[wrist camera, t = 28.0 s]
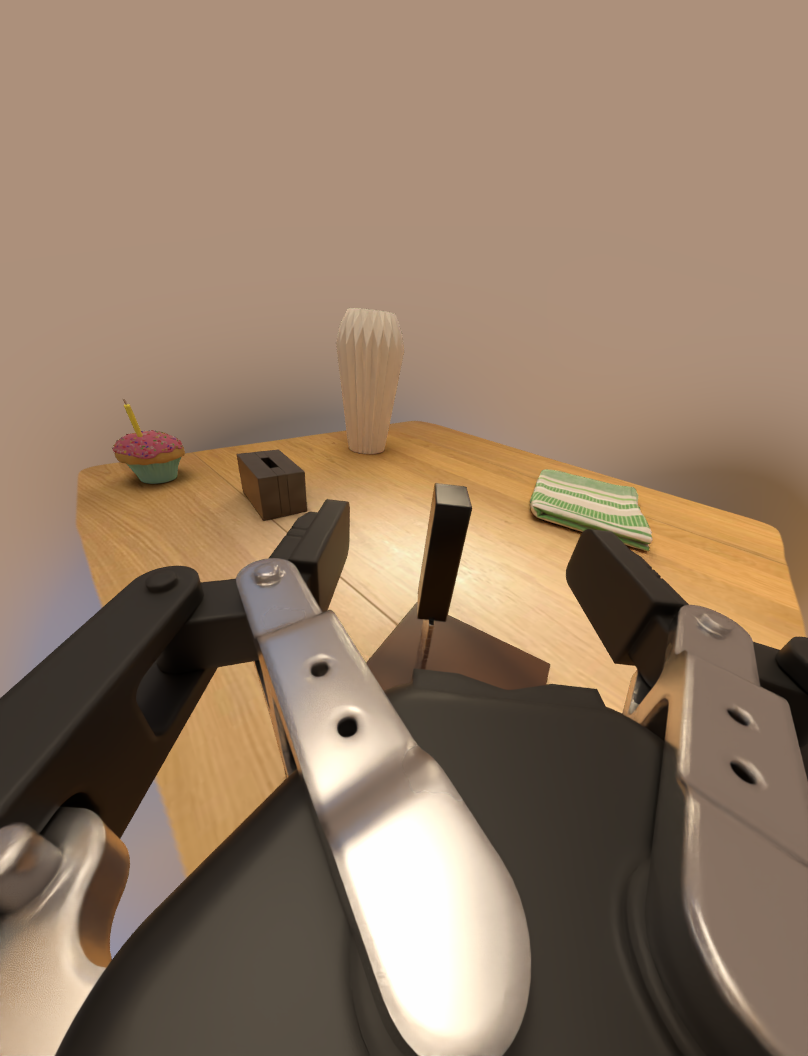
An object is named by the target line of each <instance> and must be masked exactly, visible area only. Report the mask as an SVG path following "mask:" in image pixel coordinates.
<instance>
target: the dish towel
mask: <svg viewBox="0 0 808 1056" xmlns="http://www.w3.org/2000/svg"><path fill="white" fill-rule="evenodd" d="M530 505H531V511H532V512H533V514H534V515H535V516H536V517H537V518H540V519H543V520H546V521H549V522H552V523H555V524H559V525H562V526H565V527H568V528H571V529H574V530H578V531H581V532H583V531H584V530H586V529H593V530H602V531H611V532H613V533H614V534H615V535H616V536H617V537H618V538H619V539H620V540H621V541H622V542H623V543H624V544H625V545H627V546H630V547H634V548H638V549H641V550H645V551H649V546H648V544H651V542H652V536H651V533H652V532H651V530H650V528H649V525H648V523H647V521H646V519H645V517H644V516H643V514H642V513H641V512H640V507H639V506H638V494H637V492H636V489H635V488H634V487H627V486H619V485H613V484H609V483H605V482H601V481H597V480H594V479H589V478H585V477H581V476H576V475H572V474H568V473H565V472H561V471H555V470H548V469H546V470H543V471H541V474H540V476H539V478H538V480H537V483H536V486H535V489H534V492H533V494H532V496H531V500H530Z"/></svg>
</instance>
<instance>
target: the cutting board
mask: <svg viewBox="0 0 808 1056" xmlns="http://www.w3.org/2000/svg"><path fill="white" fill-rule="evenodd" d="M417 606H418V602H417V603H416V604H415V605H414V606H413V608H412V609H411V610H410V611H409V612H408V614H407V615H406V616H405V617H404V618H403V620H402V621H401V622H400V623H399V624H398V625H397V627H396V628H395V629H394V630H393V631H392V633H391V634H390V635H389V636H388V637H387V639H386V640H385V641H384V642H383V643H382V645H381V646H380V647H379V648H378V649H377V651H376V652H375V653H374V654H373V655H372V657H371V658H370V659H369V660H368V661H367V663H366V664H367V666H368V667H369V669H370V670H371V672H372V674H373V675H374V677H375V678H376V680H377V682H378V683H379V685H380V686H381V688H382V690H383V691H384V690H386V689H389V688H391V687H394V686H398V685H402V684H407V683H411V679H412V673H413V668H415V662H416V657H417V651H418V645H419V640H420V634H421V629H422V623H423V620H422V619H418V618H417ZM549 668H550V664H549V663H547V662H545V661H543V660H541V659H539V658H537V657H534V656H532V655H530V654H528V653H526V652H524V651H522V650H520V649H518V648H516V647H514V646H512V645H510V644H507V643H505V642H503V641H501V640H499V639H497V638H495V637H493V636H491V635H489V634H487V633H485V632H483V631H480V630H478V629H476V628H474V627H472V626H470V625H468V624H466V623H464V622H462V621H460V620H458V619H456V618H453V617H451V616H449V615H448V616H447V620H446V622H439V621H434V630H433V634H432V639H431V644H430V649H429V654H428V659H427V664H426V669H425V670H433V671H442V672H451V673H459V674H462V675H464V676H467V677H470V678H473V679H476V680H479V681H482V682H485V683H488V684H491V685H493V686H496V687H499V688H502V689H506V690H514V689H521V688H528V687H535V686H542V685H546V682H547V677H548V673H549ZM284 770H285V768H284ZM285 775H286V771H285ZM286 776H287V775H286Z"/></svg>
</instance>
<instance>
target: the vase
mask: <svg viewBox="0 0 808 1056" xmlns="http://www.w3.org/2000/svg"><path fill="white" fill-rule="evenodd" d="M336 345H337V354H338V363H339V371H340V380H341V388H342V396H343V405H344V412H345V422H346V430H347V438H348V446H349V449H350V450H351V451H354V452H358V453H363V454H376V453H380V452H383V451H384V448H385V444H386V439H387V434H388V429H389V424H390V419H391V414H392V409H393V404H394V399H395V394H396V389H397V385H398V379H399V375H400V369H401V365H402V359H403V355H404V345H403V338H402V332H401V328H400V326H399V323H398V320H397V317H396V315H395V314H394V313H390V312H384V311H378V310H370V309H359V308H349V309H348V310H347V312H346V314H345V316H344V318H343V320H342V322H341V324H340V328H339V332H338V338H337V342H336Z"/></svg>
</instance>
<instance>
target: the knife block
mask: <svg viewBox="0 0 808 1056" xmlns="http://www.w3.org/2000/svg"><path fill="white" fill-rule="evenodd" d="M237 460H238V465H239V471H240V477H241V483H242V489H243V492H244V494H245V495H246V497H247V498H248V499H249V501H250V502H251V504H252V505H253V506H254V508H255V509H256V510H257V512H258V513H259V515H260V516H261V517H262V519H263V520H269V519H273V518H278V517H281V516H287V515H292V514H296V513H301V512H305V511H307V502H306V487H305V472H304V471H303V470H302V469H301V468H300V467H298V466H297V465H296V464H295V463H294V462H293V461H291V460H290V459H289V458H288V457H287V456H286V455H284V454H283V453H282V452H281V451H280V450H270V451H261V452H252V453H242V454H237Z"/></svg>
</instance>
